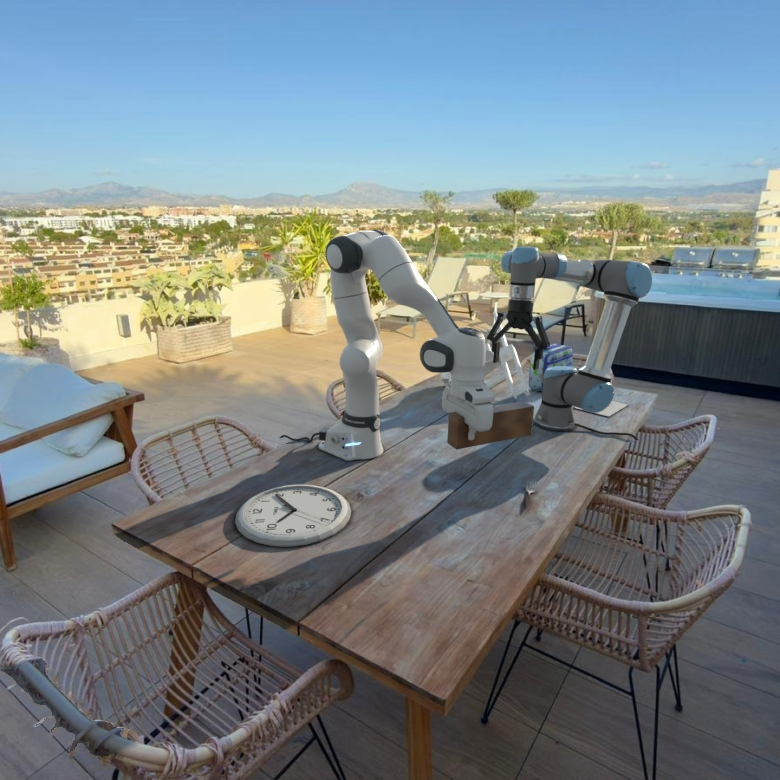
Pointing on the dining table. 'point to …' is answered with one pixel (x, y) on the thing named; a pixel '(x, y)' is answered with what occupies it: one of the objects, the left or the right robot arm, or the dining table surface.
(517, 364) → the white plastic object
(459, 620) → the dining table surface
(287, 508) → the wall clock
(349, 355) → the left robot arm
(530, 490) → the fork
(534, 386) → the lunch box
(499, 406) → the bar
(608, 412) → the invitation card
